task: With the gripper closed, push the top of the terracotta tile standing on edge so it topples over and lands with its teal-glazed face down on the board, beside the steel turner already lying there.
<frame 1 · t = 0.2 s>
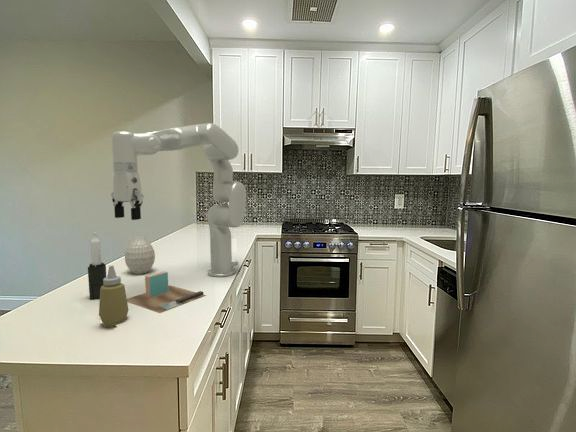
hand: (127, 218, 121), 30 cm above the counter, fingers open, 9 cm apart
tile: (157, 295, 128), point 1 cm above the counter, touching board
vase: (140, 272, 162), on the counter
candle: (99, 300, 126), on the counter
board: (165, 300, 125), on the counter
squeeze bottle: (114, 324, 106), on the counter
turner: (182, 301, 122), resting on board
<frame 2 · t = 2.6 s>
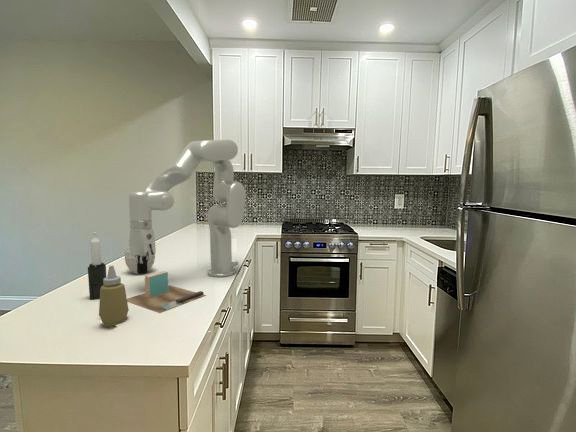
hand: (142, 273, 131), 8 cm above the counter, fingers closed
nothing on the counter moved.
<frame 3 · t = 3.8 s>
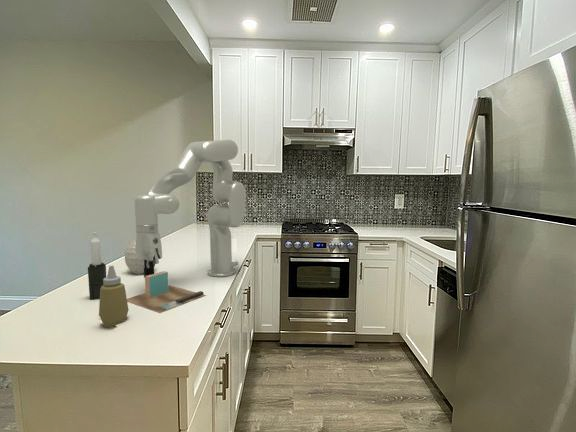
hand: (149, 277, 129), 7 cm above the counter, fingers closed
nothing on the counter moved.
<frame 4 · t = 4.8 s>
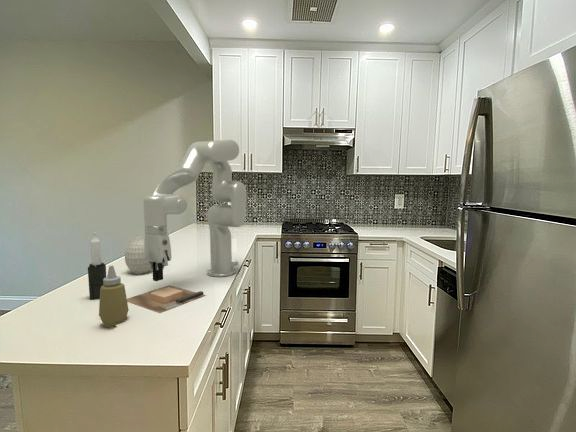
hand: (158, 279, 127), 7 cm above the counter, fingers closed
tile: (159, 292, 127), point 2 cm above the counter, tilted 90°, touching board
everything else where it was.
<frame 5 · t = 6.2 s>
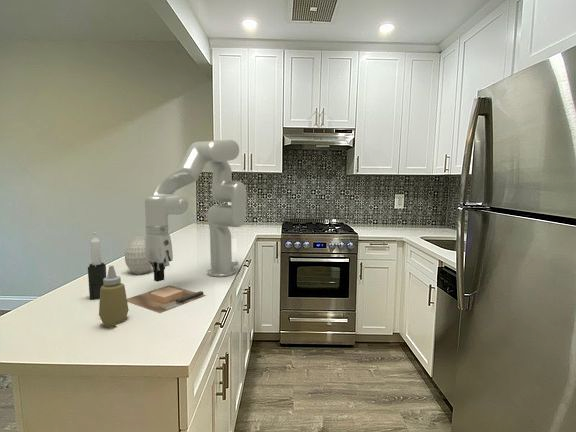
hand: (159, 280, 126), 7 cm above the counter, fingers closed
nothing on the counter moved.
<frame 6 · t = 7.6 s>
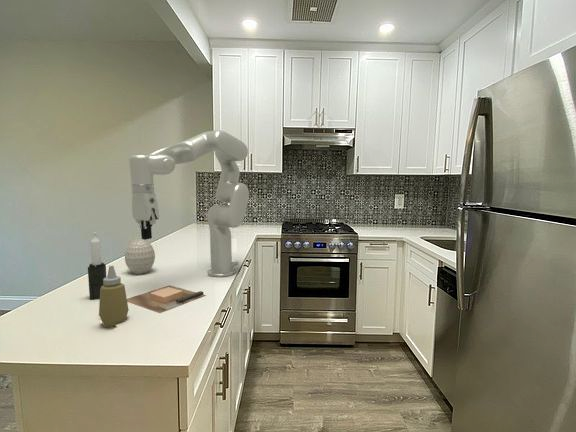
hand: (146, 238, 129), 22 cm above the counter, fingers closed
nothing on the counter moved.
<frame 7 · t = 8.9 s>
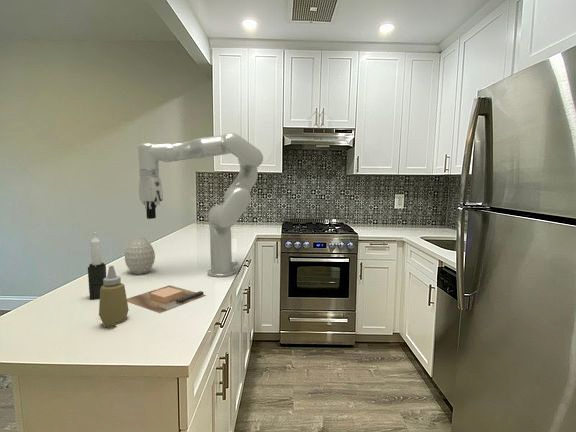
hand: (151, 218, 145), 27 cm above the counter, fingers closed
nothing on the counter moved.
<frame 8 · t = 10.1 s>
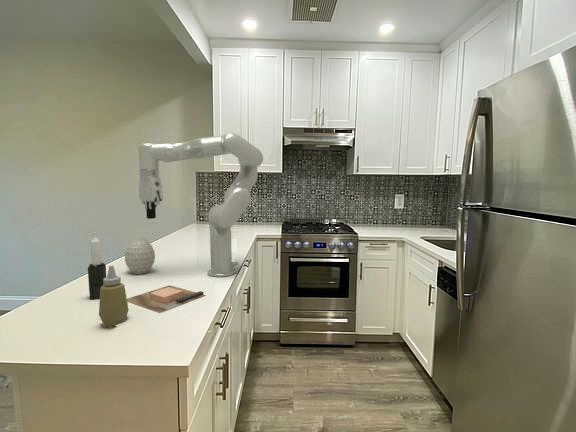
hand: (151, 218, 145), 27 cm above the counter, fingers closed
nothing on the counter moved.
at the end: tile tilted 90°; tile inside the target area on the board (4.8 cm from its centre), point 2.3 cm above the board's base; tile touching board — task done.
